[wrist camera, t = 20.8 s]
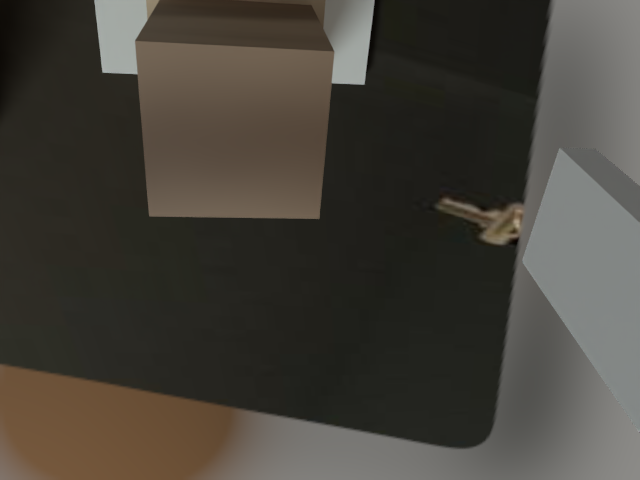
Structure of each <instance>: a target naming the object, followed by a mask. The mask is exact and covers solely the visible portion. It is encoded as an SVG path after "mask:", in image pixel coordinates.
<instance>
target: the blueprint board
mask: <svg viewBox="0 0 640 480" xmlns="http://www.w3.org/2000/svg"><path fill="white" fill-rule="evenodd" d="M374 1H375V0H326V1H325V14H324V26H323V29H324V31H325V33H326V35H327V37H328V39H329V41H330V43H331V46H332V48H333V50H334V62H333V73H332V83H341V84H363V85H364V83H365V75H366V67H367V59H368V51H369V42H370V34H371V26H372V18H373V9H374ZM95 9H96V18H97V27H98V36H99V45H100V54H101V63H102V71H103V73H125V74H138V72H137V60H136V48H135V40H136V38H137V37H138V35H139V33H140V32H141V30H142V28H143V27H144V25H145V23H146V22H147V6H146V0H95Z"/></svg>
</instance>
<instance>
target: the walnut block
mask: <svg viewBox="0 0 640 480" xmlns="http://www.w3.org/2000/svg"><path fill="white" fill-rule="evenodd" d="M135 48H136V60H137V72H138V85H139V97H140V109H141V121H142V134H143V146H144V158H145V170H146V183H147V195H148V207H149V216H163V217H233V218H303V219H319V215H320V204H321V193H322V182H323V171H324V160H325V149H326V138H327V127H328V117H329V106H330V95H331V84H332V73H333V62H334V50H333V48H332V46H331V43H330V41H329V39H328V37H327V35H326V33H325V31H324V29H323V27H322V25H321V23H320V21H319V19H318V17H317V15H316V13H315V11H314V9H313V7H312V5H301V4H285V3H270V2H254V1H238V0H159V2H158V3H157V5H156V7H155V8H154V10H153V12H152V13H151V15H150V17H149V18H148V20H147V22H146V23H145V25H144V27H143V28H142V30H141V32H140V33H139V35H138V37H137V38H136V40H135Z"/></svg>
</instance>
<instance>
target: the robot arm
mask: <svg viewBox="0 0 640 480" xmlns="http://www.w3.org/2000/svg"><path fill="white" fill-rule="evenodd" d="M522 262H523V264H524V265H525V267H526V268H527V270H528V271H529V272H530V274H531V275H532V277H533V278H534V279H535V281H536V283H537V284H538V286H539V287H540V289H541V290H542V291H543V293H544V294H545V295H546V297H547V299H548V300H549V302H550V303H551V305H552V306H553V307H554V309H555V310H556V312H557V313H558V315H559V316H560V317H561V319H562V320H563V322H564V324H565V325H566V326H567V328H568V329H569V331H570V332H571V333H572V335H573V337H574V338H575V339H576V341H577V342H578V344H579V345H580V347H581V348H582V350H583V351H584V353H585V354H586V355H587V357H588V358H589V360H590V361H591V363H592V364H593V366H594V367H595V369H596V370H597V371H598V373H599V374H600V376H601V377H602V379H603V380H604V382H605V383H606V385H607V386H608V388H609V389H610V390H611V392H612V393H613V395H614V396H615V398H616V399H617V401H618V402H619V404H620V405H621V407H622V408H623V410H624V411H625V412H626V414H627V415H628V417H629V418H630V420H631V421H632V423H633V424H634V425H635V427H636V428H637V430H638V431H639V433H640V186H639V185H638V184H636V183H635V182H634V181H633V180H632V179H631V178H629V177H628V176H627V175H626V174H624V173H623V172H622V171H621V170H620V169H619V168H618V167H616V166H615V165H614V164H613V163H612V162H610V161H609V160H608V159H607V158H606V157H605V156H603V155H602V154H601V153H600V152H599V151H597V150H596V149H587V148H586V149H585V148H559V151H558V154H557V157H556V160H555V163H554V166H553V169H552V172H551V175H550V178H549V181H548V184H547V187H546V190H545V193H544V196H543V200H542V202H541V205H540V208H539V211H538V214H537V218H536V221H535V224H534V227H533V230H532V233H531V236H530V239H529V242H528V245H527V248H526V251H525V254H524V257H523V260H522Z"/></svg>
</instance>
